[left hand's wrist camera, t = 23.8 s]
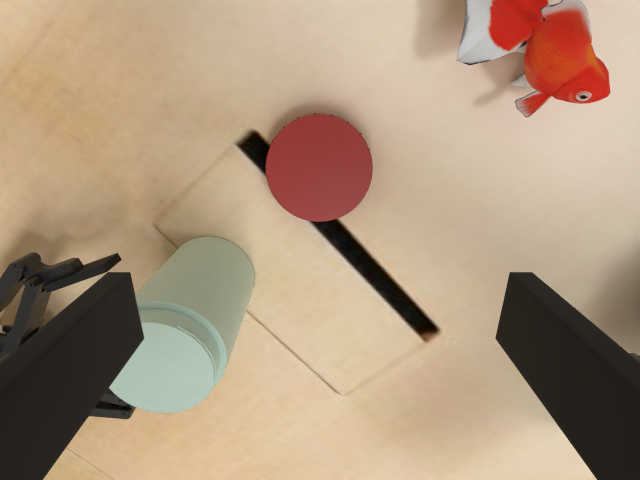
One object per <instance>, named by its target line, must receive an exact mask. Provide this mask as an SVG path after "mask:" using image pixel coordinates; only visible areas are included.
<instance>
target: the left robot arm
mask: <svg viewBox="0 0 640 480" xmlns="http://www.w3.org/2000/svg"><path fill="white" fill-rule="evenodd" d="M143 340H144V334H143V329H142V325H141V320H140V316H139V311H138V306H137V302H136V297H135V292H134V288H133V283H132V279H131V274H130V272H108V273H107V274H105V275H104V276H103V277H102V278H101V279H100V280H98V281H97V282H96V283H95V284H94V285H92V286H91V287H90V288H89V289H88V290H86V291H85V292H84V293H83V294H82V295H80V296H79V297H78V298H77V299H76V300H74V301H73V302H72V303H71V304H70V305H69V306H67V307H66V308H65V309H64V310H63V311H61V312H60V313H59V314H58V315H57V316H55V317H54V318H53V319H52V320H51V321H49V322H48V323H47V324H46V325H45V326H44V327H42V328H41V329H40V330H39V331H38V332H36V333H35V334H34V335H33V336H32V337H30V338H29V339H28V340H27V341H26V342H24V343H23V344H22V345H21V346H20V347H18V348H17V349H16V350H15V351H14V352H13V353H11V354H10V355H5V356H3V357H1V358H0V480H43V479H44V477H45V476H46V475H47V473H48V472H49V470H50V469H51V468H52V466H53V465H54V463H55V462H56V461H57V459H58V458H59V456H60V455H61V454H62V452H63V451H64V450H65V448H66V447H67V445H68V444H69V443H70V441H71V440H72V438H73V437H74V436H75V434H76V433H77V431H78V430H79V429H80V427H81V426H82V425H83V423H84V422H85V420H86V419H87V418H88V416H89V415H90V413H91V412H92V411H93V409H94V408H95V406H96V405H97V404H98V402H99V401H100V399H101V398H102V397H103V395H104V394H105V393H106V391H107V390H108V388H109V387H110V386H111V384H112V383H113V381H114V380H115V379H116V377H117V376H118V374H119V373H120V372H121V370H122V369H123V368H124V366H125V365H126V363H127V362H128V361H129V359H130V358H131V356H132V355H133V354H134V352H135V351H136V349H137V348H138V347H139V345H140V344H141V343H142V341H143ZM496 340H497V341H498V343H499V344H500V345H501V347H502V348H503V349H504V351H505V352H506V354H507V355H508V356H509V358H510V359H511V361H512V362H513V363H514V365H515V366H516V368H517V369H518V370H519V372H520V373H521V374H522V376H523V377H524V379H525V380H526V381H527V383H528V384H529V386H530V387H531V388H532V390H533V391H534V393H535V394H536V395H537V397H538V398H539V399H540V401H541V402H542V404H543V405H544V406H545V408H546V409H547V411H548V412H549V413H550V415H551V416H552V418H553V419H554V420H555V422H556V423H557V425H558V426H559V427H560V429H561V430H562V431H563V433H564V434H565V436H566V437H567V438H568V440H569V441H570V443H571V444H572V445H573V447H574V448H575V450H576V451H577V452H578V454H579V455H580V456H581V458H582V459H583V461H584V462H585V463H586V465H587V466H588V468H589V469H590V470H591V472H592V473H593V475H594V476H595V477H596V479H597V480H640V356H638V355H636V354H634V353H627V352H626V351H625V350H624V349H623V348H622V347H620V346H619V345H618V344H617V343H616V342H614V341H613V340H612V339H611V338H610V337H608V336H607V335H606V334H605V333H604V332H602V331H601V330H600V329H599V328H598V327H596V326H595V325H594V324H593V323H592V322H591V321H589V320H588V319H587V318H586V317H585V316H583V315H582V314H581V313H580V312H579V311H577V310H576V309H575V308H574V307H573V306H571V305H570V304H569V303H568V302H567V301H566V300H564V299H563V298H562V297H561V296H560V295H558V294H557V293H556V292H555V291H554V290H552V289H551V288H550V287H549V286H548V285H546V284H545V283H544V282H543V281H542V280H540V279H539V278H538V277H537V276H536V275H535V274H533V273H532V272H510V274H509V279H508V283H507V288H506V292H505V297H504V302H503V306H502V311H501V315H500V320H499V325H498V329H497V334H496Z"/></svg>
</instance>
